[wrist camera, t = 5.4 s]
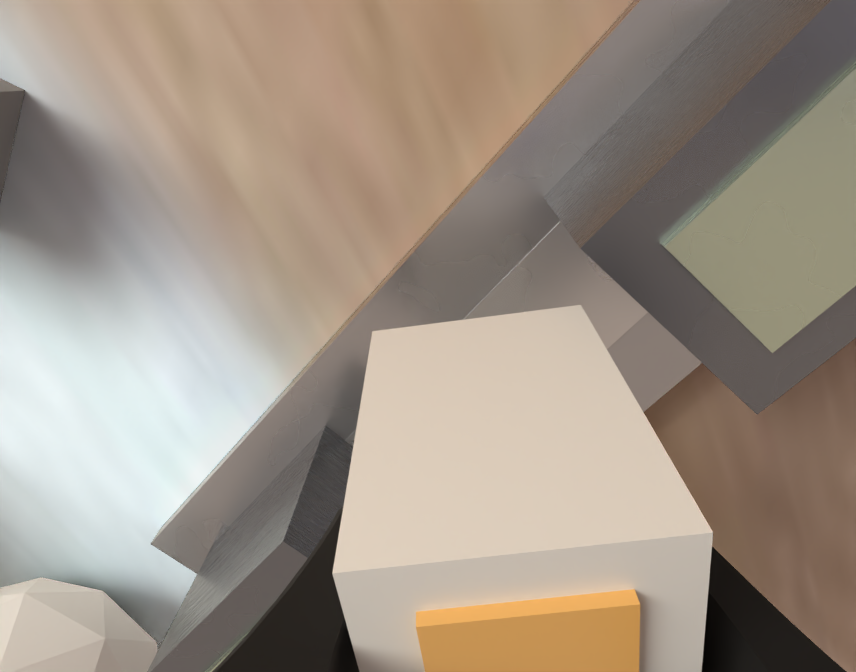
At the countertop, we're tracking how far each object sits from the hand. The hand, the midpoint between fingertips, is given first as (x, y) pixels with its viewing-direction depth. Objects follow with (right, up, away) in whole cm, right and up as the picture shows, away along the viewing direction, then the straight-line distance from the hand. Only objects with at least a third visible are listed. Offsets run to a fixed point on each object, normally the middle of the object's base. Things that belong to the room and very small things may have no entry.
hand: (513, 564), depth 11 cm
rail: (0, +3, +8) cm, 8 cm away
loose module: (0, +2, +2) cm, 3 cm away
